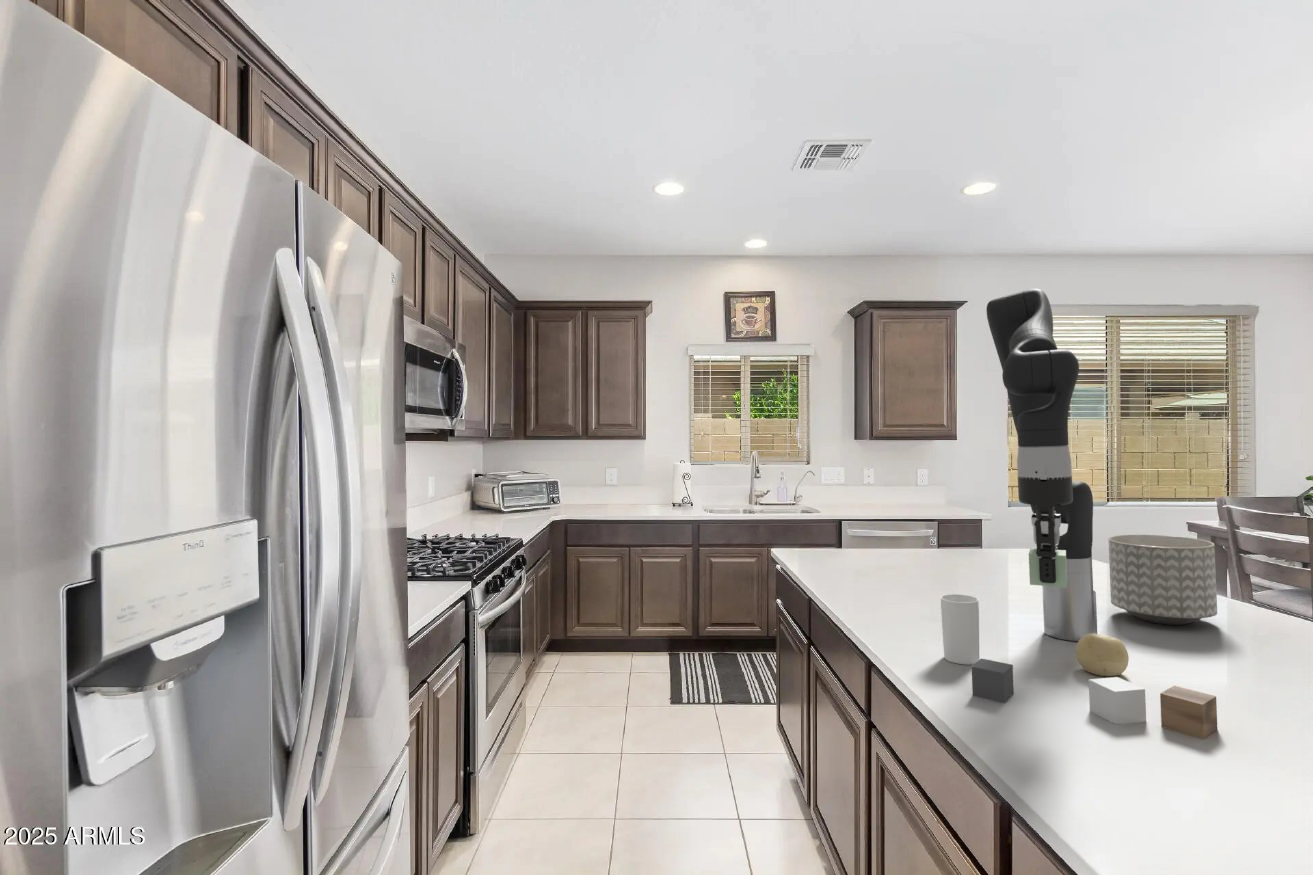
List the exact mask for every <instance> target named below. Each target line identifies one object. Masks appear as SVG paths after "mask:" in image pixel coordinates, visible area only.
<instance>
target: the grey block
mask: <svg viewBox="0 0 1313 875" xmlns="http://www.w3.org/2000/svg"><path fill="white" fill-rule="evenodd" d="M1088 695H1089V696H1088V697H1089V698H1088V700H1089V711H1090V712H1092V713H1094V714H1096V715H1098V716H1100V717H1101V718H1103V719H1104V720H1106V721H1109V722H1111V723H1112V724H1114V725H1125V724H1127V725H1128V724H1136V723H1137V724H1138V723H1146V722H1147V709H1146V708H1147V707H1146V706H1147V705H1146V704H1147V703H1146V689H1145V688H1144V687H1141V686H1138V685H1136V684H1134V683H1132V682H1129V681H1127V680H1125V679H1124V678H1121V677H1118V676H1111V677H1105V678H1104V677H1101V678H1092V679H1091V678H1090V679H1088Z"/></svg>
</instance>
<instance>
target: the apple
mask: <svg viewBox="0 0 1313 875" xmlns="http://www.w3.org/2000/svg"><path fill="white" fill-rule="evenodd" d="M1075 657H1076V661H1077V662H1078V664H1079V666H1080V667H1081V668H1082V669H1083V670H1085V671H1086V672H1088V673H1091V674H1092V675H1096V676H1099V677H1100V676H1101V677H1118V676H1119V675H1121V674H1123V673H1124V672H1125V671H1126V670H1127V668H1128V665H1129V652H1128V649H1127V648H1126V646H1125V644H1124V643H1123V642H1122V640H1120V639H1118V638H1116V637H1113V636H1110V635H1104V634H1098V633H1097V634H1087V635H1085V636H1083V637H1082V638H1081V639H1080V640H1079V641H1077V643H1076V647H1075Z"/></svg>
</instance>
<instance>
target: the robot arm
mask: <svg viewBox="0 0 1313 875" xmlns="http://www.w3.org/2000/svg"><path fill="white" fill-rule="evenodd" d="M1052 311H1053V310H1052V308H1051V303H1050V301H1049V298H1048V295H1047V294H1046V292H1044V291H1043V290H1042V289H1040V288H1030V289H1026V290H1022V291H1019V292H1015V293H1011V294H1008V295H1005V296H1001V297H997V298H994V299H991V300H989V301H988V303H987V305H986V320H987V322H988V326H989V331H990V333H991V337H992V339H993V343H994V346H995V350H996V352H997V355H998V356H997V357H998V360H999V363H1000V366H1001V369H1002V376H1001V377H1002V383H1003V386H1004V387H1005V389H1006V390H1007V392H1006V393H1007V396H1008V401H1009V402H1008V403H1009V406H1010V411H1011V412H1010V413H1011V416H1012V419H1013V424H1014V427H1015V428H1014V429H1015V430H1016V433H1017V434H1016V435H1017V458H1016V464H1017V465H1016V468H1017V469H1016V470H1017V471H1016V472H1017V489H1018V490H1017V491H1018V492H1017V493H1018V496H1017V497H1018V501H1019V502H1020V504H1025V505H1030V508H1031V511H1032V514H1031V526H1032V527H1033V529H1032V530H1033V542H1034V544H1035V546H1036V549H1037V551H1036V554H1037V557H1038V559H1039V573H1040V581H1041V582H1043V583H1055V582H1056V564H1055V560H1056V557H1057V554H1056V550H1066V564H1067V588H1065V587H1053V586H1041V588H1042V607H1043V608H1042V610H1043V611H1042V612H1043V613H1042V614H1043V632H1044V634H1045V635H1047V636H1049V637H1051V638H1055V639H1059V640H1064V641H1074V642H1079V640H1080V639H1081V638H1082V637H1083V636H1085V635H1087V634H1098V612H1097V592H1096V591H1095V590H1094V577H1093V574H1094V573H1093V572H1094V571H1093V555H1092V554H1093V552H1092V550H1093V539H1094V538H1093V536H1094V535H1093V533H1094V531H1093V530H1094V529H1093V528H1094V527H1093V521H1094V499H1093V498H1094V496H1093V493H1092V489H1091V487H1090V485H1089V484H1088V483H1086V482H1084V481H1078V480H1073V475H1072V474H1073V472H1072V458H1071V453H1070V447H1069V411H1070V408H1071V407H1070V406H1071V402H1072V397H1073V393H1074V390H1075V388H1076V384H1077V381H1078V378H1079V373H1080V365H1079V360H1078V358H1077V357H1076V355H1075V354H1074V353H1073V352H1072V351H1070V350H1068V349H1058V345H1057V343H1056V341H1055V339H1054V320H1053V318H1054V317H1053V312H1052ZM1061 524H1065V525H1067V530H1066V532H1065V533H1064V534H1061V533H1060V527H1061Z"/></svg>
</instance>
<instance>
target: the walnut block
mask: <svg viewBox="0 0 1313 875" xmlns="http://www.w3.org/2000/svg"><path fill="white" fill-rule="evenodd" d="M1159 694H1160V696H1159V698H1160V701H1159V702H1160V721H1161V727H1162V728H1164V729H1168V730H1171V731H1175V732H1177V733H1182V734H1184V735H1188V736H1191V737H1194V738H1196V739H1197V738H1198V739H1201V740H1205V739H1208V738H1209V737H1210V736H1211V735H1212V734H1215V733H1216V732H1217V731H1218V710H1217V709H1218V706H1217V705H1218V704H1217V695H1213V694H1208V693H1205V692H1201V691H1197V690H1194V689H1193V690H1192V689H1190V688H1187V687H1181V686H1177V685H1173V686H1171V687H1169V688H1167V689H1166V690H1164V691H1162V692H1160V693H1159Z"/></svg>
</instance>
